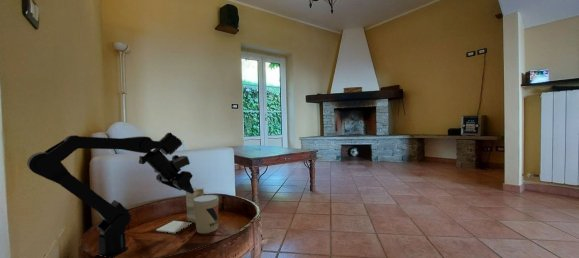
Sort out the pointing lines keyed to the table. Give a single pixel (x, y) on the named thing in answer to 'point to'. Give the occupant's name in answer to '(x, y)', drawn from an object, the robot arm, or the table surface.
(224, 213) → the table surface
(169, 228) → the ceramic tile
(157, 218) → the table surface
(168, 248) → the table surface
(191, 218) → the letter block
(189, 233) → the table surface
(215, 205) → the coffee cup
